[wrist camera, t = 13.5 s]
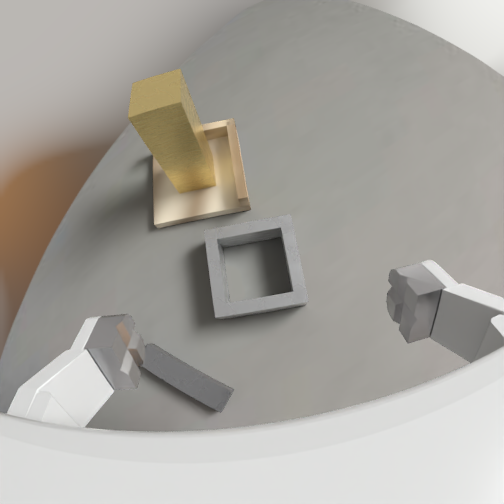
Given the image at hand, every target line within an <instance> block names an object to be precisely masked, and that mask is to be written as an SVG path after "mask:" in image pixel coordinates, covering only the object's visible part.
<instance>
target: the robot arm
mask: <svg viewBox="0 0 504 504" xmlns="http://www.w3.org/2000/svg"><path fill="white" fill-rule="evenodd" d="M388 281H389V283H390V284H391V286H392V287H391V288H390V290H389V291H388V293H387V301H386V302H387V309H388V312H389V315H390V317H391V318H392V320H393V321H395V322H397V323H399V324H400V327H399V331H400V332H401V334H402V335H403V337H404V338H405V340H406V342H407V343H411V342H415V341H418V340H422V339H425V338H428V337H430V338H431V339H433V340H434V341H436V342H438V343H439V344H441V345H442V346H444V347H446V348H447V349H449V350H451V351H452V352H454V353H456V354H457V355H459V356H460V357H462V358H464V359H465V360H467V361H469V362H470V363H469V364H467V365H465V366H463V367H461V368H459V369H456V370H454V371H452V372H449V373H447V374H445V375H442V376H440V377H437V378H435V379H432V380H430V381H427V382H425V383H422V384H419V385H417V386H414V387H411V388H408V389H406V390H403V391H400V392H397V393H394V394H391V395H388V396H385V397H381V398H378V399H375V400H372V401H368V402H365V403H361V404H358V405H354V406H350V407H346V408H342V409H338V410H334V411H330V412H326V413H321V414H317V415H312V416H307V417H302V418H297V419H291V420H286V421H280V422H273V423H267V424H260V425H252V426H244V427H235V428H224V429H212V430H196V431H121V430H106V429H94V428H84V427H85V426H86V425H87V423H88V422H89V421H90V420H91V419H92V417H93V416H94V415H95V414H96V413H97V411H98V410H99V409H100V408H101V407H102V405H103V404H104V403H105V402H106V401H107V399H108V398H109V397H110V396H111V395H112V393H113V392H114V390H126V389H137V388H138V384H139V380H140V376H141V372H140V370H139V367H140V366H141V365H142V364H143V363H144V360H145V345H144V342H143V339H142V337H141V335H140V334H139V333H137V332H136V331H135V330H134V327H135V322H134V320H133V319H132V317H131V316H130V315H129V314H121V315H110V316H102V317H100V316H99V317H90V318H88V319H86V321H85V323H84V324H83V326H82V328H81V330H80V332H79V334H78V336H77V337H76V339H75V341H74V343H73V345H72V347H71V349H70V350H66V351H65V352H63V353H62V354H61V355H60V356H58V357H57V358H56V359H55V360H53V361H52V362H51V363H49V364H48V365H47V366H46V367H44V368H43V369H42V370H41V371H39V372H38V373H37V374H36V375H34V376H33V377H32V378H31V379H29V380H28V381H27V382H26V383H24V384H23V385H22V386H21V387H20V388H19V389H18V391H17V393H16V395H15V397H14V399H13V401H12V403H11V405H10V408H9V410H8V412H7V414H5V413H1V412H0V504H504V298H502V297H499V296H497V295H494V294H491V293H488V292H485V291H483V290H480V289H477V288H474V287H471V286H468V285H465V284H463V283H462V284H458V283H457V282H456V281H455V280H454V279H453V278H452V277H451V276H449V275H448V274H447V273H446V272H445V271H444V270H443V269H442V268H441V267H440V266H439V265H438V264H437V263H436V262H434V261H433V260H427V261H423V262H419V263H417V264H413V265H409V266H405V267H400V268H396V269H392V270H391V271H390V273H389V280H388Z"/></svg>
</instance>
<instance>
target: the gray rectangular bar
mask: <svg viewBox="0 0 504 504" xmlns="http://www.w3.org/2000/svg"><path fill="white" fill-rule="evenodd" d="M141 366H142V367H144V368H145V369H147V370H148V371H150V372H151V373H153V374H154V375H156V376H158V377H159V378H161V379H162V380H164V381H166V382H167V383H169V384H170V385H172V386H174V387H175V388H177V389H179V390H181V391H182V392H184V393H186V394H187V395H189V396H191V397H193V398H194V399H196V400H198V401H200V402H202V403H203V404H205V405H207V406H209V407H211V408H213V409H215V410H217V411H219V412H220V413H221V412H222V411H223V409H224V408H225V406H226V404H227V402H228V400H229V399H230V397H231V395H232V393H233V391H234V389H233V388H231V387H229V386H227V385H225V384H223V383H221V382H219V381H217V380H215V379H213V378H212V377H210V376H208V375H206V374H204V373H202V372H201V371H199V370H197V369H195V368H193V367H192V366H190V365H188V364H186V363H185V362H183V361H181V360H180V359H178V358H176V357H174V356H173V355H171V354H169V353H168V352H166V351H164V350H163V349H161V348H160V347H158V346H156V345H155V344H147V345H146V347H145V360H144V363H143V364H142V365H141Z"/></svg>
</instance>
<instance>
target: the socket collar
mask: <svg viewBox="0 0 504 504" xmlns="http://www.w3.org/2000/svg"><path fill="white" fill-rule="evenodd" d="M204 234H205V243H206V252H207V260H208V268H209V276H210V283H211V291H212V298H213V305H214V312H215V318H218V319H227V318H234V317H240V316H246V315H252V314H258V313H264V312H270V311H276V310H281V309H287V308H292V307H297V306H303V305H306V304H307V303H308V302H309V301H308V296H307V291H306V286H305V281H304V276H303V271H302V266H301V261H300V256H299V251H298V246H297V242H296V237H295V232H294V228H293V223H292V219H291V214H289V215H283V216H277V217H272V218H266V219H261V220H255V221H250V222H244V223H239V224H234V225H228V226H223V227H218V228H213V229H208V230H204ZM279 237H281V239H282V244H283V249H284V254H285V259H286V265H287V270H288V275H289V280H290V286H291V291H292V292H288V293H283V294H277V295H271V296H266V297H260V298H254V299H248V300H242V301H236V302H230V296H229V289H228V283H227V276H226V269H225V261H224V254H223V248H224V247H229V246H235V245H240V244H246V243H251V242H257V241H262V240H268V239H273V238H279Z"/></svg>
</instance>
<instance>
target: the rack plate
mask: <svg viewBox="0 0 504 504" xmlns="http://www.w3.org/2000/svg"><path fill="white" fill-rule="evenodd" d="M202 127H203V130H204V133H205V135H206V138H207V141H208V143H209V146H210V149H211V151H212V154H213V161H214V169H215V177H216V186H213V187H208V188H203V189H199V190H194V191H190V192H185V193H181V194H179V192H178V191H177V189H176V188H175V187H174V185H173V184H172V182H171V181H170V179H169V178H168V176H167V175H166V173H165V172H164V170H163V169H162V168H161V166H160V165H159V163H158V162H157V160H156V159H155V157H154V156H153V204H154V225H155V226H156V227H157V228H162V227H167V226H171V225H176V224H181V223H185V222H190V221H195V220H200V219H205V218H210V217H215V216H220V215H225V214H230V213H235V212H241V211H246V210H251V208H250V202H249V197H248V191H247V185H246V180H245V174H244V168H243V163H242V157H241V151H240V146H239V140H238V135H237V130H236V126H235V121H234V118H232V119H227V120H222V121H218V122H213V123H208V124H204V125H202Z"/></svg>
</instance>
